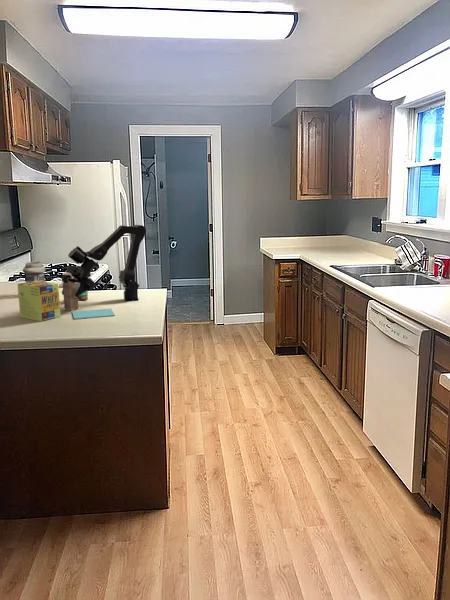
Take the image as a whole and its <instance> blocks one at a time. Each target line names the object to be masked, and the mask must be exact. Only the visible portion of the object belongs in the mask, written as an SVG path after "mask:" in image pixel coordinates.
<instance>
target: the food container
mask: <svg viewBox="0 0 450 600" xmlns="http://www.w3.org/2000/svg"><path fill="white" fill-rule="evenodd" d="M79 287H80V283H77V290H78V288H79ZM88 291H89V290H88ZM88 291H86V292H84V293H82V294H81V295H79V296H78V301H84V302H87V301H88V300H89V299H88V293H89V292H88ZM86 300H87V301H86Z"/></svg>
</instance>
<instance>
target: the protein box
mask: <svg viewBox="0 0 450 600" xmlns="http://www.w3.org/2000/svg"><path fill="white" fill-rule="evenodd" d="M17 293H18V306H19V317H20V318H22V319H27V320H31V321H37V322H46V321H50V320H53V319H57V318H61V304H60V290H59V283H55V282H48V281H46V282H41V281H33V282H27V283H25V282H23V283H21V282H20V283H17Z"/></svg>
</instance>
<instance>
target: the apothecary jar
mask: <svg viewBox="0 0 450 600" xmlns="http://www.w3.org/2000/svg"><path fill="white" fill-rule="evenodd" d="M46 271H47V270H46V267H45V266H44V265H43V262H42V261H29V262H26V263H25V265H24V266H23V268H22V272H23V273H24V274H25V282H24V283H27V282H33V281H41V282H47V281H46V279H45V272H46Z"/></svg>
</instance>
